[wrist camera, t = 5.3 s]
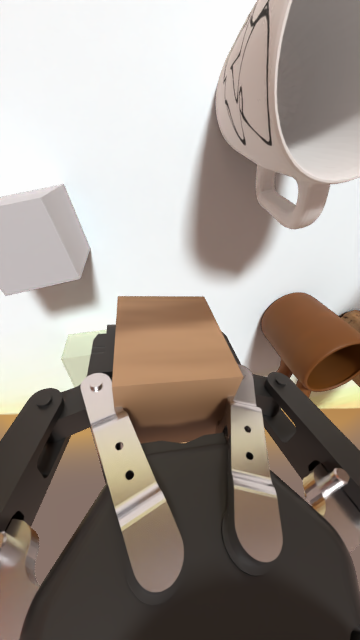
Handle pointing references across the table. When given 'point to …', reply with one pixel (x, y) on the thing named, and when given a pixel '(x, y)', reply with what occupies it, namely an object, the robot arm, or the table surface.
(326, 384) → the mug
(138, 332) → the walnut block
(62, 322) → the table surface
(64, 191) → the grey block
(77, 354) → the base block
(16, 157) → the table surface
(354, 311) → the brown tall piece
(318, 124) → the mug
